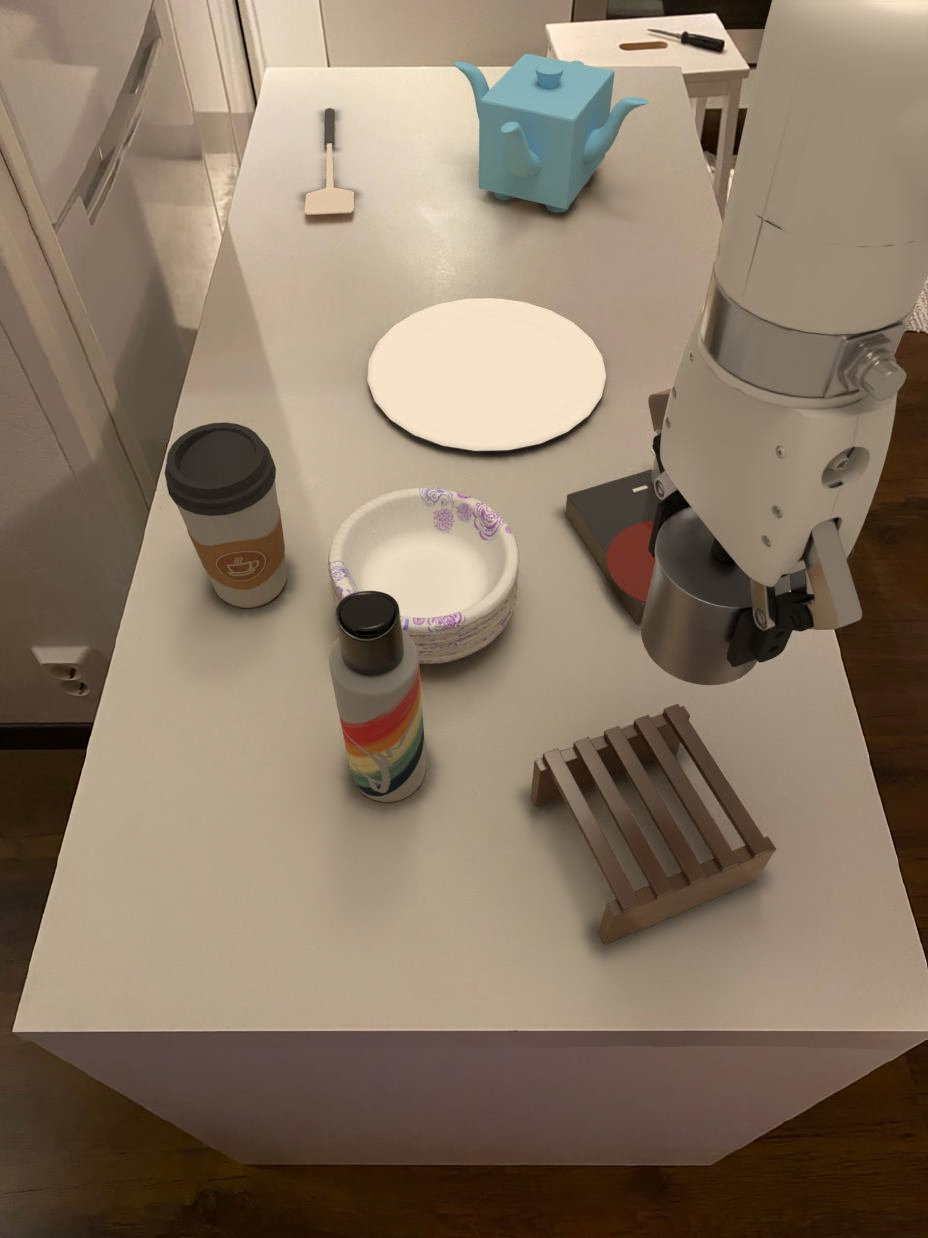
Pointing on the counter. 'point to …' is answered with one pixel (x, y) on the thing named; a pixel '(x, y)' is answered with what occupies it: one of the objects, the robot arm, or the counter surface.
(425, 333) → the plate
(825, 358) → the robot arm
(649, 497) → the hob
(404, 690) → the lotion bottle
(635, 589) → the burner ring
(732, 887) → the drying rack
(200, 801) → the counter surface
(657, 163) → the counter surface
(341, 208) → the spatula
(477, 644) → the paper bowls
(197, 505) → the coffee cup
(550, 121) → the teakettle
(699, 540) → the saucepan
